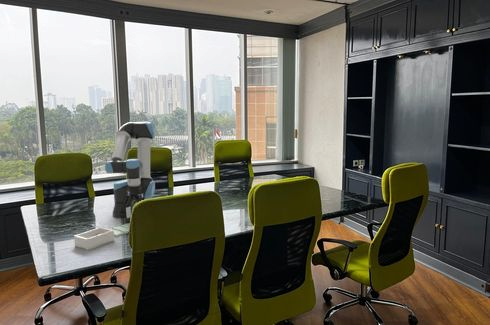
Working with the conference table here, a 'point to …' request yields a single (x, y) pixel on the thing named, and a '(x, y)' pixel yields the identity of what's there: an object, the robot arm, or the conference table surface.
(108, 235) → the tub
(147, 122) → the robot arm
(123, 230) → the lid
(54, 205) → the conference table surface
